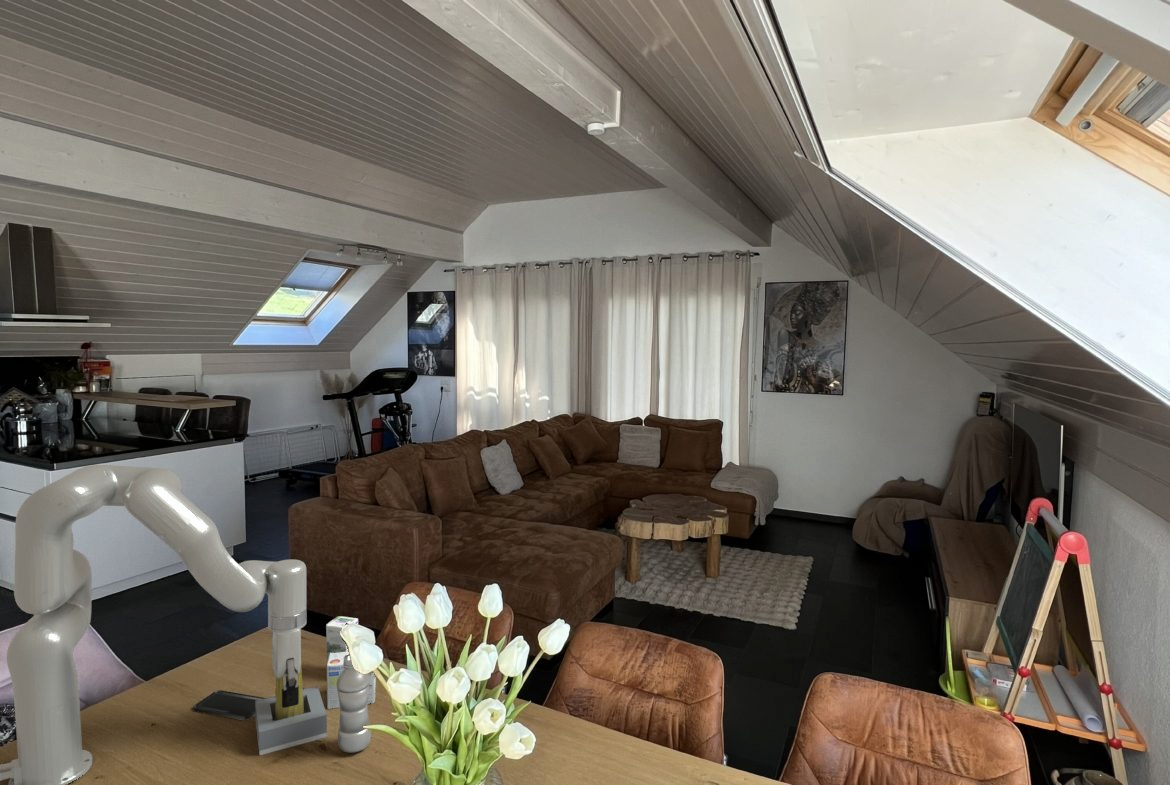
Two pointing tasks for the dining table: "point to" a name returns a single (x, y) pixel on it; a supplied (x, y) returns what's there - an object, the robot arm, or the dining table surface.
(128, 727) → the dining table surface
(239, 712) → the phone
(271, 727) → the socket block
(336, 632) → the syrup box
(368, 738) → the plastic bottle
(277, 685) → the vase
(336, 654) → the light bulb box
